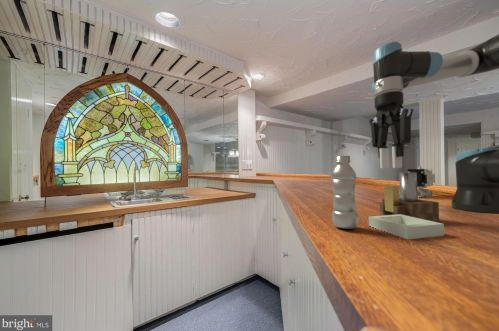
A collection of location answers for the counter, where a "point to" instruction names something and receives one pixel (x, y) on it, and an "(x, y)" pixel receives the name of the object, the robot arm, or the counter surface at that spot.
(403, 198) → the grey metal peg
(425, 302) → the counter surface
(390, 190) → the brass block
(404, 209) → the socket block
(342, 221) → the plastic bottle
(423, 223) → the tray
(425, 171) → the ball valve
